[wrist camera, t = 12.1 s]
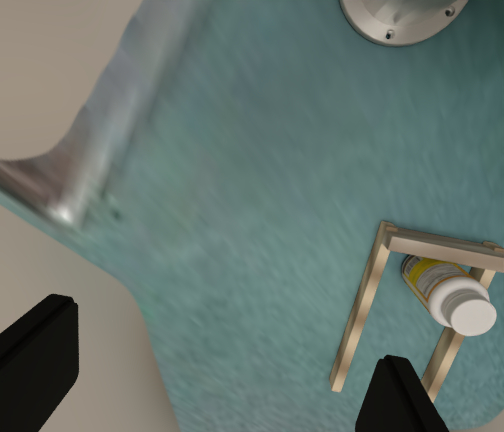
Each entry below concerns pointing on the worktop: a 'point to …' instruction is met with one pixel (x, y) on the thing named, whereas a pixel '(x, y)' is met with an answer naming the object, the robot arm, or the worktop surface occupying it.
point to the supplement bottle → (450, 294)
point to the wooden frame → (425, 245)
